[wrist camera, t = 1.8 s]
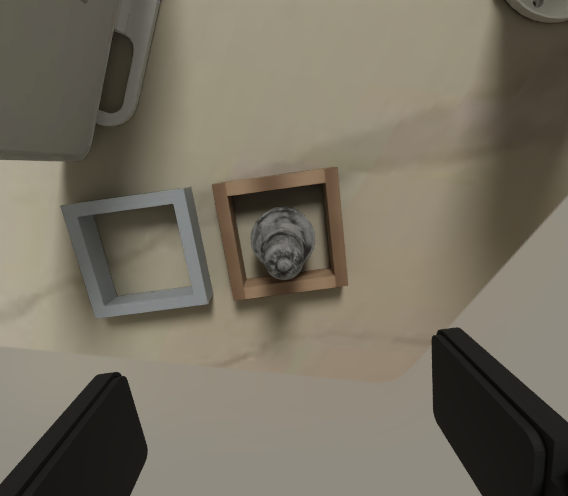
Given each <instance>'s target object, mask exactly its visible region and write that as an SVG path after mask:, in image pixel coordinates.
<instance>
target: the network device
mask: <svg viewBox="0 0 568 496" xmlns="http://www.w3.org/2000/svg"><path fill="white" fill-rule="evenodd" d="M160 1H161V0H0V160H32V161H72V162H78V161H81V160H83V159H84V158H85V157H86V156H87V155H88V153H89V151H90V148H91V145H92V140H93V135H94V130H95V125H96V124H100V125H104V126H118V125H121V124H123V123H125V122H127V121H128V120H129V119H130V118H131V117H132V116H133V114H134V112H135V111H136V108H137V105H138V100H139V96H140V91H141V87H142V82H143V78H144V73H145V69H146V64H147V60H148V55H149V51H150V46H151V42H152V37H153V33H154V28H155V24H156V19H157V15H158V10H159V5H160ZM114 31H115V32H117V33H120V34H122V35H125V36H127V37H129V38H130V39H131V41H132V43H133V46H134V54H133V59H132V64H131V68H130V73H129V78H128V83H127V88H126V92H125V97H124V102H123V105H122V107H121V109H120V110H119V111H118V112H116V113H107V112H105V111H102V110H99V104H100V99H101V94H102V89H103V84H104V78H105V73H106V68H107V63H108V58H109V53H110V47H111V42H112V37H113V32H114Z"/></svg>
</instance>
